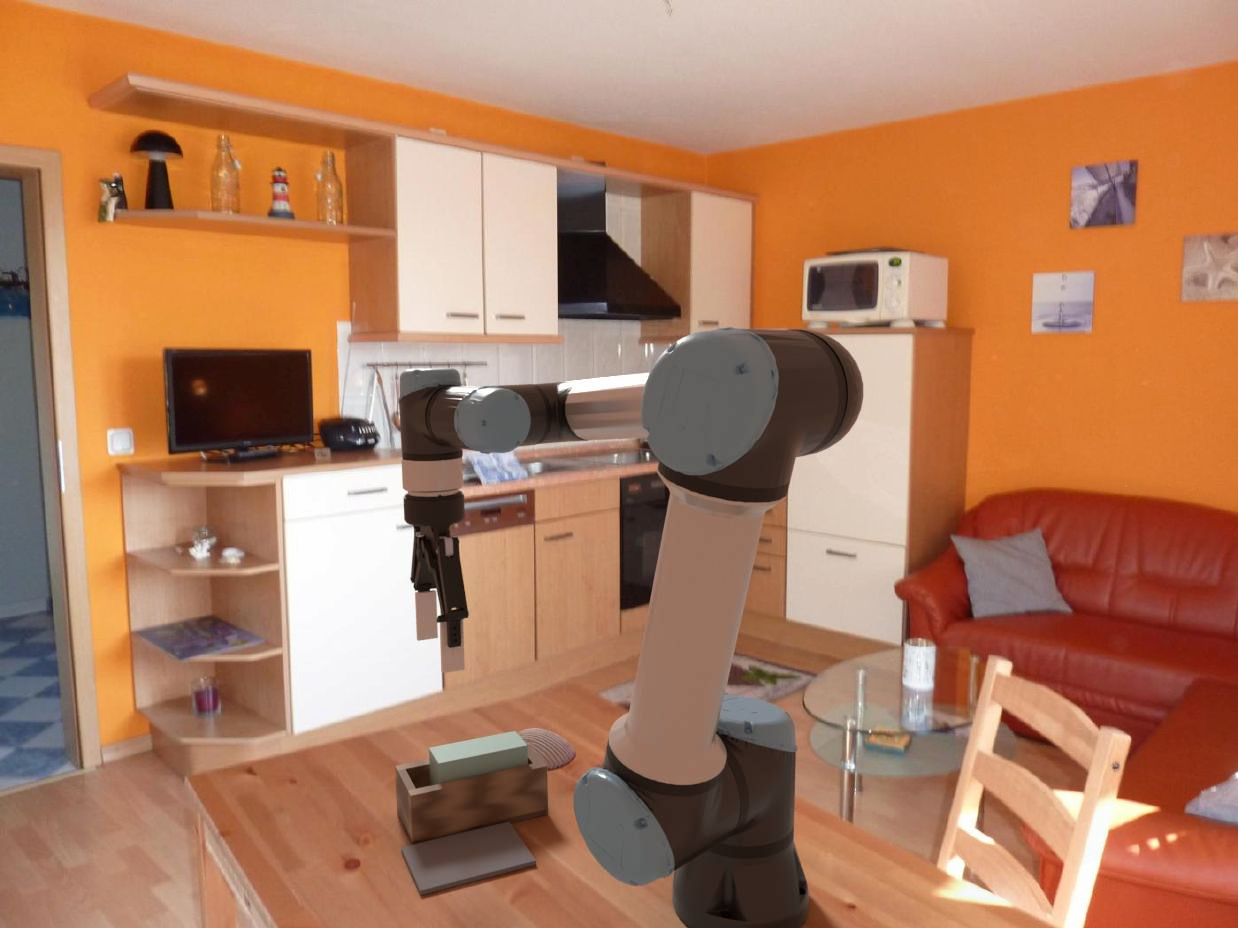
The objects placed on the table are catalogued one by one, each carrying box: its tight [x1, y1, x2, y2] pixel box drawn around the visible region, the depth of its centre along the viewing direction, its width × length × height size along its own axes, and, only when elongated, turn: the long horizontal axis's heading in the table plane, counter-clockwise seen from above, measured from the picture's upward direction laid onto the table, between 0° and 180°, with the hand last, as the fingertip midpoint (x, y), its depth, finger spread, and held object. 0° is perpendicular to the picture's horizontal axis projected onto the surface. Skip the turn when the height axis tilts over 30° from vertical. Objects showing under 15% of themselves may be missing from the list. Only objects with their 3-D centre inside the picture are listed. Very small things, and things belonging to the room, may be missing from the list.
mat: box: [400, 822, 537, 896], centre depth 112 cm, size 10×14×1 cm
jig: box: [394, 740, 549, 845], centre depth 122 cm, size 18×9×7 cm, turn 115°
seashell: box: [517, 727, 576, 771], centre depth 140 cm, size 10×6×10 cm
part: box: [428, 730, 528, 785], centre depth 122 cm, size 12×5×5 cm, turn 115°
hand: (439, 653), depth 119 cm, fingers open, 13 cm apart
